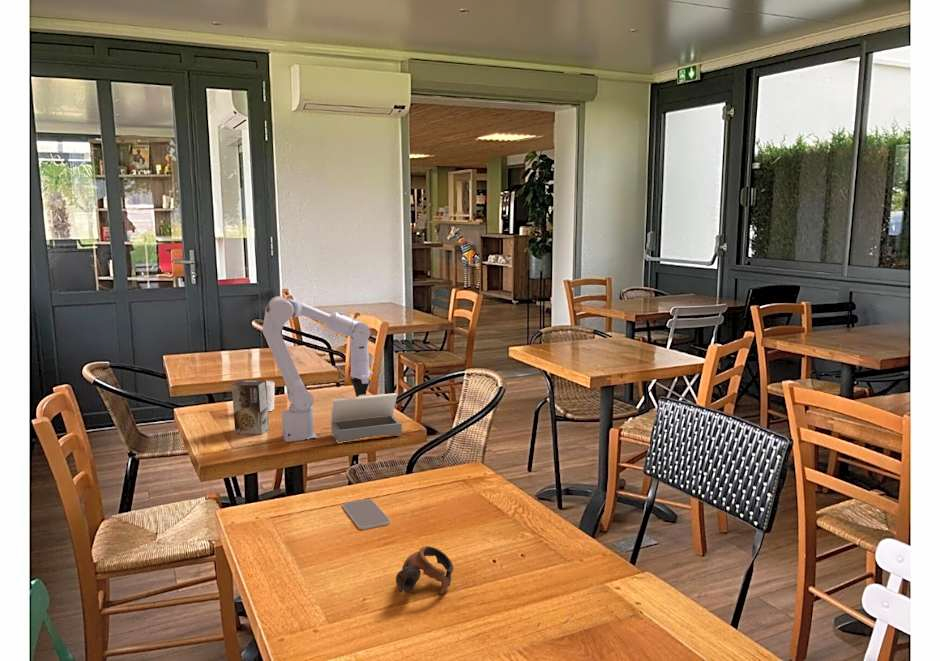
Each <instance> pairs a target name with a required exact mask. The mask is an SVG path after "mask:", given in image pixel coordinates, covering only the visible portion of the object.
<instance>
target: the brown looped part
mask: <svg viewBox="0 0 940 661" xmlns="http://www.w3.org/2000/svg"><path fill="white" fill-rule="evenodd" d="M427 557H435V558H436V563H437V564H441V566H443V567H444V569H445V570H446V571H445V570H444V569H440V568H438V567H437V566H434V565H433V564H432V563H431V562H429V561H428V559H427ZM401 568H402V569H401V570H399V572H397V573H396V576H395V583H396V586H397V588H398V590H399V592H400V593H401V592H404V593H406V594H412V593H413V590H414V587H415V585H416V584H417V582H418V581H419V580H420V577H421V572H422V574H423V575H425V576H428V577H429V578H431V579H434V580H435V581H438V582H440V583H441V585H440V589H439V591H438V592H439V594H440V595H444V594H445V593H446V591H447V590H448V587H450V586H451V581H452V573H453V571H454V565H453V562H452V561H451V559H450V558H449V556H448V555H447V554H445V553H444V552H443V551H441V550H440V549H438V548H436V547H434V546H430V545H429V546H427V545H426V546H422V547H421V548H420V550H419V551H416V552H414V553H411V554H410V555H409V556H408V557H407V558H406V560H405V561H404V563H403V565H402V567H401ZM421 570H422V571H421Z"/></svg>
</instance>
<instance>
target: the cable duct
mask: <svg viewBox="0 0 940 661" xmlns="http://www.w3.org/2000/svg"><path fill="white" fill-rule="evenodd" d="M402 424H403V423H402V422H401V421H399V419H397V418H396V417H395V416H394V414H393V415H390V416H381V417H372V418H363V419H354V420H345V421H336V422H331V421H330V426H331V427H330V428H331V435H332V434H333V435H334V437H335V439H336V440H337V441H338V442H342V441H343V442H344V441H349V440H350V441H351V440H355V439H360V438H365V437H373V436H379V435H380V436H381V435H402V436H403V430H402V429H403V428H402ZM334 437H333V438H334ZM335 439H334V440H335ZM336 440H335V441H336Z"/></svg>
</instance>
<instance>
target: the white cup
mask: <svg viewBox="0 0 940 661" xmlns="http://www.w3.org/2000/svg"><path fill="white" fill-rule="evenodd" d="M266 389H267V405H268V411H272V410H273V409H274V410H275V382H274V381H273V380H266ZM272 412H273V411H272Z"/></svg>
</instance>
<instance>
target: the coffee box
mask: <svg viewBox="0 0 940 661" xmlns="http://www.w3.org/2000/svg"><path fill="white" fill-rule="evenodd" d="M266 381H267V380H266V379H265V380H263V379H262V380H260V379H259V380H258V379H253V380H252V379H251V380H250V379H241V380H237V381H236V382H234V383H233V384H231V393H232V406H233V407H232V408H233V420H234V422H233V423H234V434H235V433H240V434H241V435H243V434H244V435H247V434H248V435H263V434H264V433H265V432H267V431H268V430H269V428H270V427H269V425H270V424H269V423H270V422H269V413H268V405H267V389H266ZM266 430H267V431H266ZM262 433H263V434H262ZM240 434H239V435H240Z"/></svg>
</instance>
